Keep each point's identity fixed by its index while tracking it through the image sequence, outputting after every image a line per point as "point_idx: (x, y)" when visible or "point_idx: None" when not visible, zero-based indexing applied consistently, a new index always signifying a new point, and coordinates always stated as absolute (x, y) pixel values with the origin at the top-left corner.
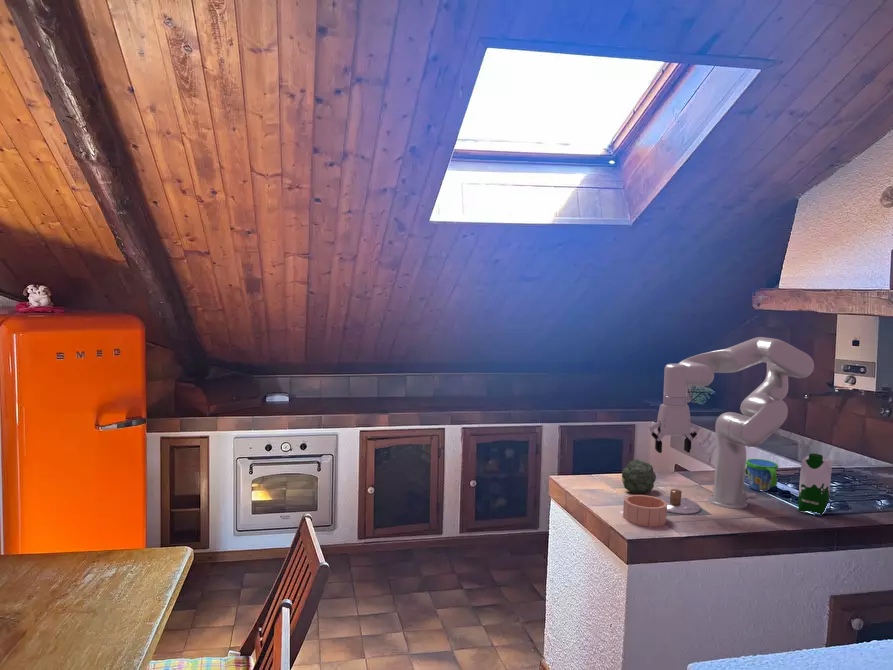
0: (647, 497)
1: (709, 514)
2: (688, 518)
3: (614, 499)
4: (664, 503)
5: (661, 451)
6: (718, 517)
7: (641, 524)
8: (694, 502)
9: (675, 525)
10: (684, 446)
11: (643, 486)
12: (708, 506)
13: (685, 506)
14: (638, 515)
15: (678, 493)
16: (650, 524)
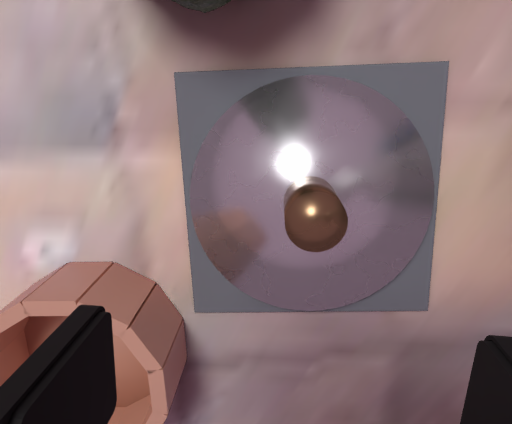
0: None
1: (416, 309)
2: (299, 331)
3: (36, 67)
4: (150, 420)
5: (107, 416)
6: (443, 326)
7: None
8: (429, 180)
9: (207, 395)
10: (503, 383)
11: (199, 5)
12: (495, 186)
13: (344, 239)
14: None
15: (314, 250)
16: None
